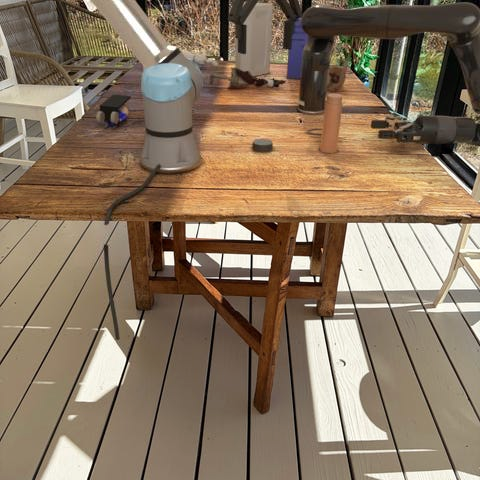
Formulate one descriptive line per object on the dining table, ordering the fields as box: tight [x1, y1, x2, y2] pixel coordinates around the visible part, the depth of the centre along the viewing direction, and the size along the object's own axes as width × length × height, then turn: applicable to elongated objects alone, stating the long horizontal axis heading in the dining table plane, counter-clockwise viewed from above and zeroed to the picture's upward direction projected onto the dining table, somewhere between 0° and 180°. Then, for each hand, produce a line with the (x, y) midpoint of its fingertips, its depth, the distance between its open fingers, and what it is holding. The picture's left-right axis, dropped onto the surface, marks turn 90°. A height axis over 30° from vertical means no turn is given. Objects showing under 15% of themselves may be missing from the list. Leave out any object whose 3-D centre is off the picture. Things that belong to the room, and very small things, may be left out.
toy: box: [181, 50, 219, 69], centre depth 223 cm, size 24×25×7 cm
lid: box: [252, 138, 274, 153], centre depth 132 cm, size 6×6×2 cm
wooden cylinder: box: [319, 93, 344, 154], centre depth 129 cm, size 5×5×15 cm
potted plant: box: [327, 58, 349, 93], centre depth 191 cm, size 13×9×15 cm
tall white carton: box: [234, 1, 274, 77], centre depth 210 cm, size 19×15×28 cm
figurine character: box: [95, 94, 132, 130], centre depth 148 cm, size 7×8×15 cm
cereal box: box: [286, 18, 308, 80], centre depth 203 cm, size 17×5×24 cm, turn 86°
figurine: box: [209, 66, 287, 89], centre depth 190 cm, size 24×8×30 cm
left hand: (265, 51), depth 120 cm, fingers open, 13 cm apart
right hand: (374, 129), depth 130 cm, fingers open, 8 cm apart
